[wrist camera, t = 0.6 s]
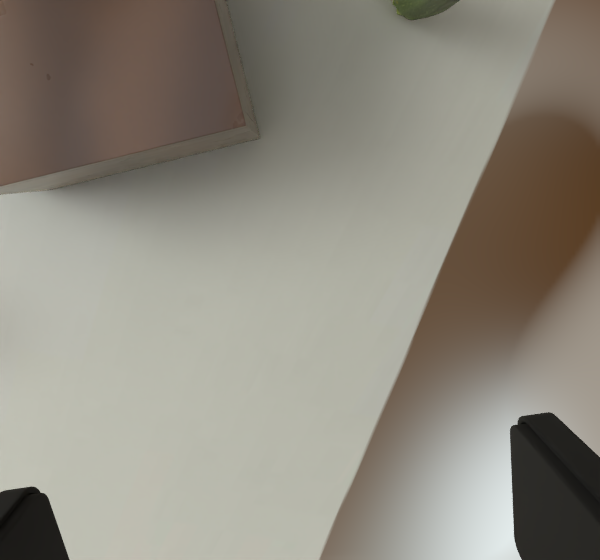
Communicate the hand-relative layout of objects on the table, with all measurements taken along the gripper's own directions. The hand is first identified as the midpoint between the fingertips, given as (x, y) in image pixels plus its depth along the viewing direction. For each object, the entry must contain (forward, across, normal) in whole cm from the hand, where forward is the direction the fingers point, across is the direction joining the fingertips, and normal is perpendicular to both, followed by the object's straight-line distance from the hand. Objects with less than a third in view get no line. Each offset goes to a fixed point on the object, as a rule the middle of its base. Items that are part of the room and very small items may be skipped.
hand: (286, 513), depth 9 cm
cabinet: (+28, +10, -15) cm, 34 cm away
